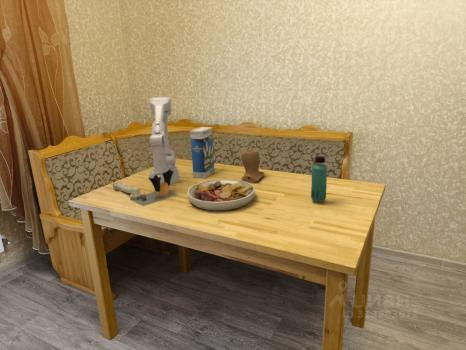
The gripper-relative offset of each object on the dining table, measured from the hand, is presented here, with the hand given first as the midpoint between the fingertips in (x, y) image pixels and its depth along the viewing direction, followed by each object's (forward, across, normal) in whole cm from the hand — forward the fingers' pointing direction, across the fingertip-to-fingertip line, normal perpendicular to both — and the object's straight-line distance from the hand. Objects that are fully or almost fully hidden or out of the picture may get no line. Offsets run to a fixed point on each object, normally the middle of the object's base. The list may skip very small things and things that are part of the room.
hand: (162, 188), depth 156 cm
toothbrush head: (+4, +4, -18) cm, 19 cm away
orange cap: (+3, 0, 0) cm, 3 cm away
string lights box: (+4, -36, +1) cm, 36 cm away
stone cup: (+4, -39, +29) cm, 48 cm away
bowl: (+4, -6, +28) cm, 29 cm away
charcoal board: (+4, +5, -2) cm, 6 cm away
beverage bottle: (+4, -18, +68) cm, 71 cm away
